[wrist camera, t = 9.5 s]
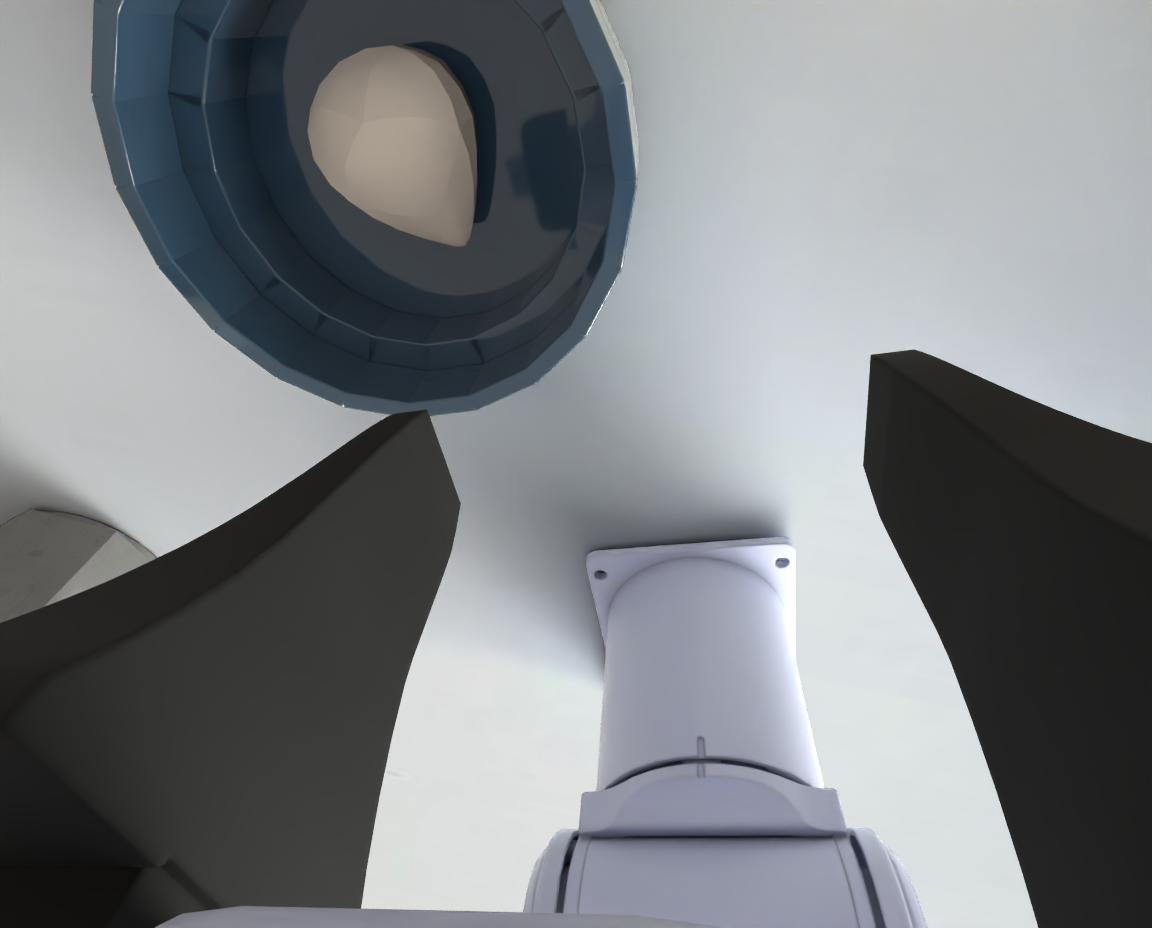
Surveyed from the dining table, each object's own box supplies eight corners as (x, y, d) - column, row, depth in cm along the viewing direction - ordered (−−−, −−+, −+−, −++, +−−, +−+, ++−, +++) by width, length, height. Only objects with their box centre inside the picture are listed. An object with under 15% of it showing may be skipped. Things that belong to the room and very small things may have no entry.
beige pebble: (430, 7, 16) (397, 5, 14) (537, 195, 18) (522, 218, 16) (304, 105, 18) (258, 117, 15) (417, 268, 20) (390, 298, 18)
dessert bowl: (660, 322, 21) (662, 389, 17) (313, 369, 23) (248, 438, 19) (598, -202, 14) (581, -280, 10) (121, -67, 16) (-36, -92, 12)
